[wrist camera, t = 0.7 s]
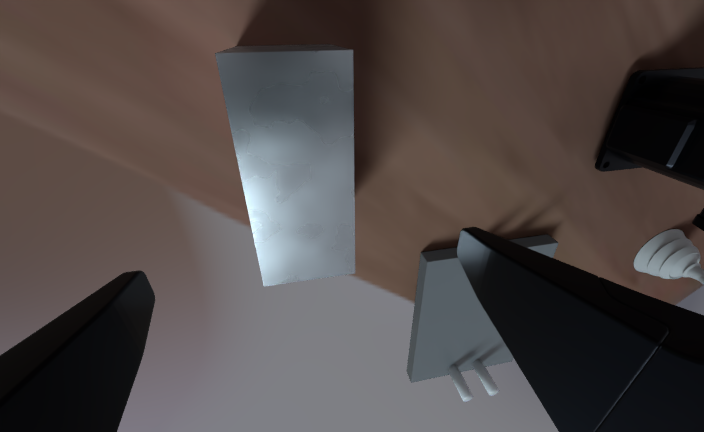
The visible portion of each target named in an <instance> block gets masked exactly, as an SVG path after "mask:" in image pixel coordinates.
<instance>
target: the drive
mask: <svg viewBox="0 0 704 432" xmlns="http://www.w3.org/2000/svg"><path fill="white" fill-rule="evenodd" d="M215 55H216V60H217V65H218V70H219V74H220V79H221V84H222V89H223V93H224V98H225V103H226V108H227V112H228V117H229V122H230V127H231V132H232V136H233V141H234V146H235V151H236V155H237V160H238V165H239V170H240V175H241V179H242V184H243V189H244V194H245V198H246V203H247V208H248V213H249V218H250V222H251V227H252V232H253V237H254V241H255V246H256V251H257V256H258V260H259V265H260V270H261V274H262V279H263V284H264V286H271V285H277V284H284V283H291V282H298V281H305V280H312V279H319V278H326V277H333V276H340V275H347V274H354V273H355V199H354V87H353V50H351V49H347V48H343V47H339V46H335V45H331V44H311V45H263V46H235V47H232V48H229V49H226V50H223V51H220V52H217V53H215Z"/></svg>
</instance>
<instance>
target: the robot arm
mask: <svg viewBox="0 0 704 432" xmlns="http://www.w3.org/2000/svg"><path fill="white" fill-rule="evenodd" d="M641 167H644V168H646V169H649V170H652V171H654V172H657V173H660V174H662V175H665V176H668V177H670V178H673V179H676V180H678V181H681V182H684V183H687V184H689V185H692V186H695V187H697V188H700V189H703V190H704V67H701V68H680V69H659V70H639V71H636V72H635V73H634V74H633V75H632V76H631V77H630V79H629V82H628V84H627V87H626V89H625V91H624V94H623V96H622V99H621V101H620V104H619V106H618V109H617V111H616V114H615V116H614V119H613V121H612V124H611V126H610V129H609V131H608V134H607V136H606V139H605V141H604V144H603V146H602V149H601V151H600V153H599V156H598V158H597V161H596V163H595V168H596V169H597V170H600V171H603V172H604V171H613V170H623V169H632V168H641ZM692 223H693V224H694V225H696V226H697V227H699V228H700V229H702V230H703V231H704V208H703V210H702V211H701V213H700V214H697V215H696V217H695V219H694V220H693V222H692ZM457 256H458V259H459V261H460V263H461V265H462V267H463V269H464V271H465V274H466V276H467V278H468V280H469V282H470V284H471V286H472V288H473V290H474V293H475V294H476V296H477V298H478V300H479V302H480V304H481V305H482V307H483V309H484V310H485V312H486V313H487V315H488V317H489V318H490V320H491V322H492V323H493V325H494V326H495V328H496V330H497V331H498V333H499V335H500V336H501V338H502V340H503V341H504V343H505V344H506V346H507V348H508V349H509V351H510V353H511V354H512V356H513V357H514V359H515V361H516V362H517V364H518V366H519V367H520V369H521V370H522V372H523V374H524V375H525V377H526V379H527V380H528V382H529V384H530V385H531V387H532V388H533V390H534V392H535V393H536V395H537V397H538V398H539V400H540V401H541V403H542V405H543V406H544V408H545V410H546V411H547V413H548V414H549V416H550V418H551V419H552V421H553V423H554V424H555V426H556V428H557V429H558V431H559V432H704V315H701V314H698V313H695V312H692V311H689V310H686V309H684V308H681V307H678V306H675V305H672V304H669V303H667V302H664V301H661V300H658V299H656V298H653V297H650V296H647V295H645V294H642V293H639V292H637V291H634V290H631V289H629V288H626V287H624V286H621V285H619V284H616V283H614V282H611V281H609V280H606V279H604V278H601V277H599V278H598V276H596V275H594V274H591V273H589V272H586V271H584V270H581V269H579V268H576V267H574V266H571V265H569V264H566V263H564V262H561V261H559V260H556V259H554V258H551V257H549V256H546V255H544V254H541V253H539V252H537V251H534V250H532V249H529V248H527V247H524V246H522V245H519V244H517V243H514V242H512V241H509V240H507V239H504V238H502V237H499V236H497V235H494V234H492V233H489V232H487V231H484V230H482V229H479V228H477V227H469V228H463V229H462V230H461V232H460V236H459V242H458V247H457ZM154 303H155V295H154V292H153V290H152V288H151V285H150V283H149V281H148V279H147V277H146V275H145V273H144V272H143V271H131V272H126V273H123V274H121V275H119V276H118V277H117V278H115V279H114V280H112V281H111V282H109V283H108V284H106V285H105V286H103V287H102V288H100V289H99V290H97V291H96V292H94V293H93V294H91V295H90V296H88V297H87V298H85V299H84V300H82V301H81V302H79V303H78V304H76V305H75V306H73V307H72V308H70V309H69V310H68V311H66V312H64V313H63V314H61V315H60V316H58V317H57V318H56V319H54V320H52V321H51V322H49V323H48V324H47V325H45V326H44V327H42V328H41V329H39V330H38V331H36V332H35V333H33V334H32V335H30V336H29V337H27V338H26V339H24V340H23V341H21V342H20V343H18V344H17V345H15V346H14V347H12V348H11V349H9V350H8V351H6V352H5V353H3V354H2V355H0V432H117V430H118V427H119V424H120V421H121V418H122V415H123V412H124V409H125V406H126V404H127V401H128V398H129V395H130V392H131V389H132V386H133V383H134V380H135V377H136V374H137V372H138V369H139V366H140V363H141V360H142V356H143V353H144V349H145V344H146V339H147V335H148V331H149V326H150V322H151V317H152V312H153V308H154Z"/></svg>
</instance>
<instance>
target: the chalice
mask: <svg viewBox="0 0 704 432" xmlns="http://www.w3.org/2000/svg"><path fill="white" fill-rule="evenodd" d="M700 257H701V256H700V254H699V251H698V249H697V247H695V246H693V244H692V242H691V241H690V240H689V239H687V238H686V237H685V235H684V233H683V231H681V230H679V229H671V230H668V231H664V232H662V233H660V234H658V235H657V236H655V237H654V238H652V239H651V240H650V241H648V242H647V243H646V244H645V245H644V246H643V247H642V248H641V249H640V251H639V252H638V254H637V255H636V258H635V260H634V268H635V269H636V270H637V271H640V272H645V273H649V274H651V275H654V276H660V277H661V278H664V279H678V278H681V277H691V278H694V279H696V280H699V281H700V282H701V283H702V284H703V285H704V270H703V269H702V268H700V267H701V265H700V264H699V261H700Z"/></svg>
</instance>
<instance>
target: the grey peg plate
mask: <svg viewBox="0 0 704 432" xmlns="http://www.w3.org/2000/svg"><path fill="white" fill-rule="evenodd" d="M509 241H512V242H514V243H517V244H519V245H522V246H524V247H527V248H529V249H532V250H534V251H537V252H539V253H541V254H544V255H546V256H549V257H551V258H553V256H554V253H555V251H556V248H557V246H558V242H557V241H556V240H554V239H553V238H552V237H550V236H549V235H548V234H547V235H540V236H533V237H526V238H519V239H512V240H509ZM512 360H513V356H512V354H511V353H510V351H509V349H508V348H507V346H506V344H505V343H504V341H503V340H502V338H501V336H500V335H499V333H498V331H497V330H496V328H495V326H494V325H493V323H492V322H491V320H490V318H489V317H488V315H487V313H486V312H485V310H484V309H483V307H482V305H481V304H480V302H479V300H478V298H477V296H476V294H475V293H474V290H473V288H472V286H471V284H470V282H469V280H468V278H467V276H466V274H465V271H464V269H463V267H462V265H461V263H460V261H459V259H458V256H457V247H456V248H449V249H442V250H435V251H428V252H421V256H420V265H419V273H418V281H417V290H416V298H415V306H414V315H413V323H412V332H411V340H410V348H409V356H408V365H407V374H408V376H409V379H410V381H411V382H417V381H421V380H426V379H431V378H435V377H440V376H445V375H449V374H450V376H451V377H452V380H453V381H454V383H455V386H456V388H457V390H458V391H459V394H460V396H461V398H462V400H463V401H464V402H466V401H470V400H471V399H472V398H473V395H472V393H471V391H470V389H469V387H468V386H467V384H466V382H465V380H464V378H463V376H462V374H461V372H463V371H468V370H473V369H475V371H476V373H477V374H478V376H479V378H480V380H481V381H482V383H483V385H484V387H485V388H486V390H487V392H488V393H489V395H490V396H493V395H495V394H497V393H498V392H499V389H498V387H497V386H496V384H495V382H494V381H493V379H492V377H491V376H490V374H489V373H488V371H487V369H486V368H485V367H487V366H492V365H496V364H501V363H505V362H510V361H512Z"/></svg>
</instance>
